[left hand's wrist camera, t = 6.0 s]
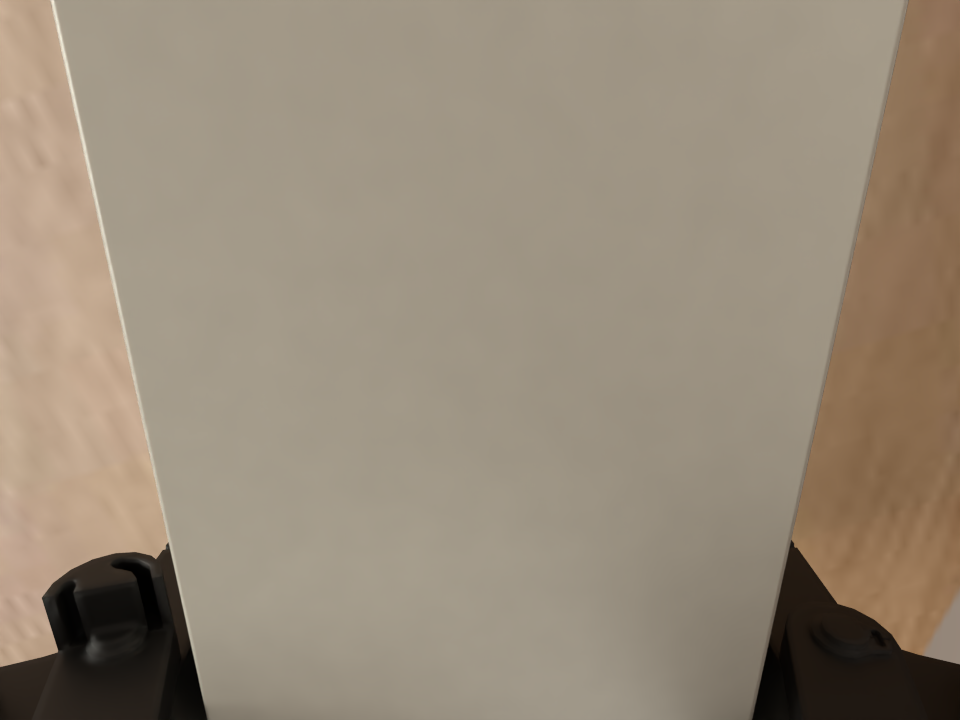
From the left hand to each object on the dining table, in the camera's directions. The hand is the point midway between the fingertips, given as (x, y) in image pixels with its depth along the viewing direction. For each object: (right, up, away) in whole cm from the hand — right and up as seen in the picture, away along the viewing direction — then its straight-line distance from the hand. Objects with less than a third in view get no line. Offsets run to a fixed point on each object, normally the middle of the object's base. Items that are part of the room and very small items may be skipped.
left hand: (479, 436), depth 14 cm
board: (0, +17, -6) cm, 18 cm away
